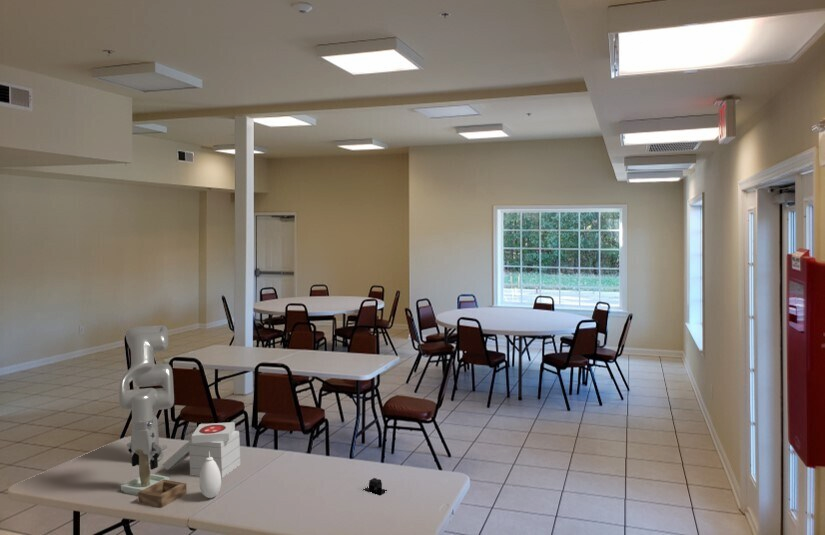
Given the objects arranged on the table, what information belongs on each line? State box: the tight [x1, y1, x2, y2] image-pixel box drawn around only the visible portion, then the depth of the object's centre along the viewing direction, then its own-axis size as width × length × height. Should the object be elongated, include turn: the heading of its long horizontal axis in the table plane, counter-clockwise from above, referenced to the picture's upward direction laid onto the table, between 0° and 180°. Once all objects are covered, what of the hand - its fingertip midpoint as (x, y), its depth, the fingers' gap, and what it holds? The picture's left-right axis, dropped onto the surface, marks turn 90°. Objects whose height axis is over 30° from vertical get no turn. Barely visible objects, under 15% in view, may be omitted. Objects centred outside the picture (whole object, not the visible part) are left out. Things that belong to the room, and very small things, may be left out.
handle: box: [135, 450, 151, 487], centre depth 236 cm, size 5×6×15 cm
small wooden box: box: [137, 479, 188, 508], centre depth 226 cm, size 12×12×4 cm
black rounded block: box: [362, 477, 387, 496], centre depth 230 cm, size 12×7×5 cm, turn 53°
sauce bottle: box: [198, 451, 222, 499], centre depth 226 cm, size 8×8×18 cm
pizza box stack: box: [162, 421, 241, 479], centre depth 254 cm, size 19×30×18 cm, turn 77°
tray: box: [120, 473, 171, 496], centre depth 236 cm, size 13×12×2 cm
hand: (144, 466), depth 236 cm, fingers open, 9 cm apart
